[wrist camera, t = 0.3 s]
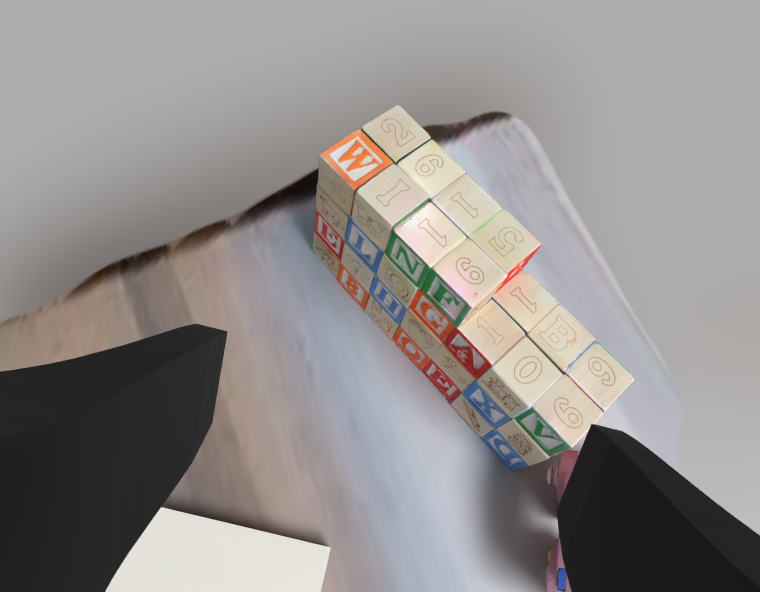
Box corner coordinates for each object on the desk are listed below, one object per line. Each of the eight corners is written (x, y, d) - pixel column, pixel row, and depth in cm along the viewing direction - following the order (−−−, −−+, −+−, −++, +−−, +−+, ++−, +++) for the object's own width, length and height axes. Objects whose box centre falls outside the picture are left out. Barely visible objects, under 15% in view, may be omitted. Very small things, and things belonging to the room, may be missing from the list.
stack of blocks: (568, 414, 44) (668, 364, 32) (511, 474, 41) (597, 443, 30) (370, 207, 48) (398, 99, 37) (308, 250, 46) (317, 150, 34)
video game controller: (555, 462, 44) (547, 434, 38) (623, 472, 42) (627, 445, 36) (539, 614, 39) (528, 610, 34) (614, 633, 38) (617, 631, 32)
